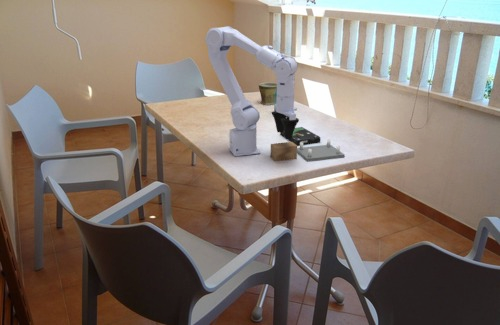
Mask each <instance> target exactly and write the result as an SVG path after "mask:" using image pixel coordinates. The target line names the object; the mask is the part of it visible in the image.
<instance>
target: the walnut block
mask: <svg viewBox="0 0 500 325" xmlns="http://www.w3.org/2000/svg"><path fill="white" fill-rule="evenodd" d="M297 148H298V146H297V145H296V144H294V143H293V142H290V141H287V142H278V143H277V142H276V143H270V158H271V159H272V161H274V162H284V161H285V162H286V161H292V160H297V158H298V153H297Z"/></svg>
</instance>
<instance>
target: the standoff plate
mask: <svg viewBox="0 0 500 325" xmlns="http://www.w3.org/2000/svg"><path fill="white" fill-rule="evenodd" d="M326 141H327V142H326V144H323V145H322V144H321V145H313V146H304V145H303V142H300V146H299V147H297V155H299V156H300V157H301V158H303V159H304V160H305V161H306V162H314V161H315V162H316V161H323V160H333V159H340V158H345V156H346V154H344V153H343V152H342V151H340V150H341V146H340V145H336V147H335V146H333V145H331V141H332V140H331V139H327V140H326Z"/></svg>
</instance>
